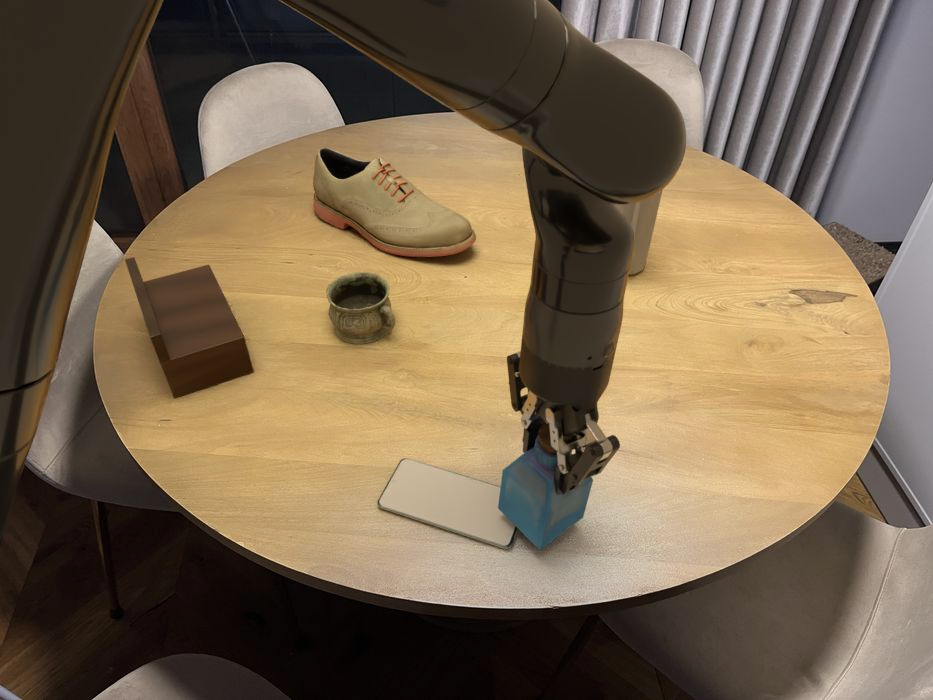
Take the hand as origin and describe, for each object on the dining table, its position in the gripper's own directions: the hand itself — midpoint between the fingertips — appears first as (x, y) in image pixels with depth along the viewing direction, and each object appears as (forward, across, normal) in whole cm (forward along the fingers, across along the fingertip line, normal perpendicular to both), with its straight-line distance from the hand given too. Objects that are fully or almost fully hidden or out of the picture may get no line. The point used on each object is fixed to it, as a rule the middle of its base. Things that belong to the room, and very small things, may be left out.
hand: (548, 469), depth 65 cm
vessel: (+9, -39, -4) cm, 40 cm away
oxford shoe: (+9, -60, +10) cm, 61 cm away
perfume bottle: (+7, 0, 0) cm, 7 cm away
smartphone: (+9, -7, -7) cm, 13 cm away
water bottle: (+9, -33, +38) cm, 51 cm away
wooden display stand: (+9, -46, -24) cm, 53 cm away
